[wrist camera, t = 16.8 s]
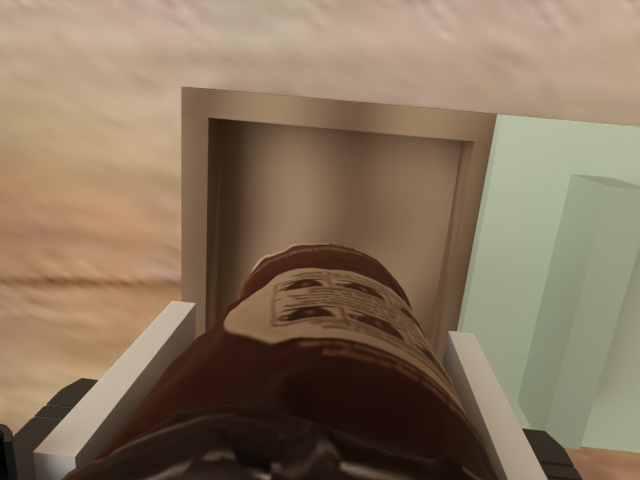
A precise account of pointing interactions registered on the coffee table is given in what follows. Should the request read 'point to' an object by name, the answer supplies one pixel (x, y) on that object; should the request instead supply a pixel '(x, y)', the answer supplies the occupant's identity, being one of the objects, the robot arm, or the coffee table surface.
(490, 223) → the lid
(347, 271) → the coffee cup
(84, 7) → the coffee table surface
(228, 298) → the box
